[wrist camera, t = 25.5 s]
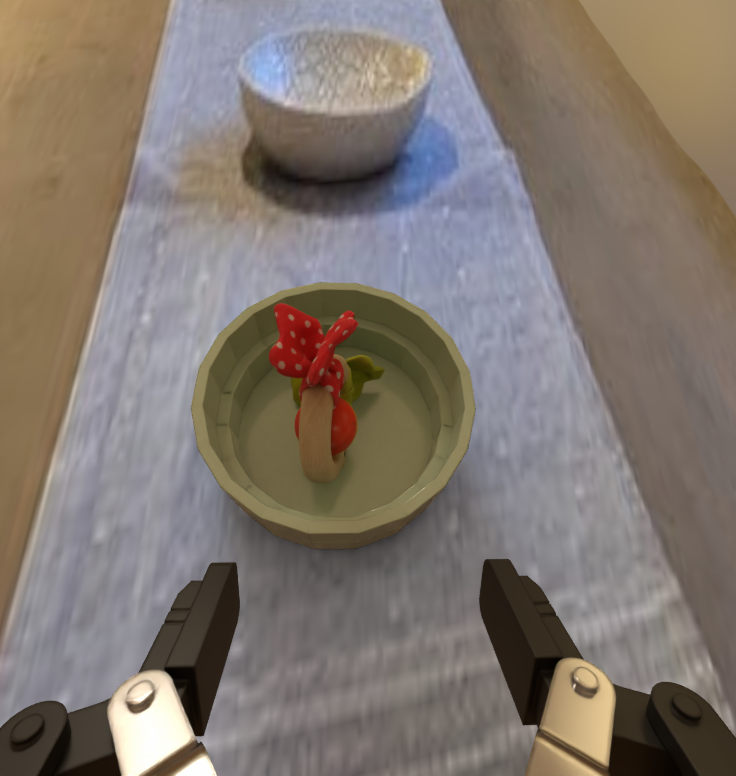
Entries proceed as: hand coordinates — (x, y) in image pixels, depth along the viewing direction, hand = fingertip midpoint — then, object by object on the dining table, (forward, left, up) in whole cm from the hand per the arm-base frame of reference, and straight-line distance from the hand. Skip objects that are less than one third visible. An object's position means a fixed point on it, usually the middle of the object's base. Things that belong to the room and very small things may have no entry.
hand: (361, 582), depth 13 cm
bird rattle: (+10, +1, -11) cm, 15 cm away
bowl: (+10, +1, -11) cm, 15 cm away
